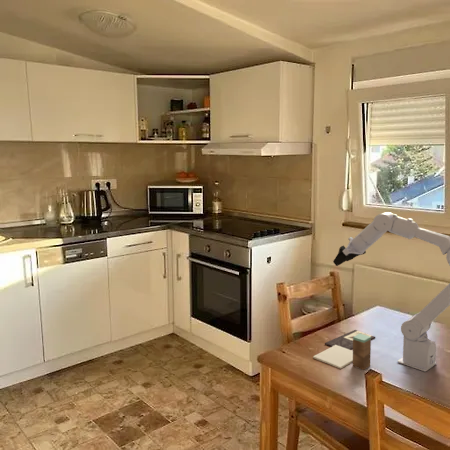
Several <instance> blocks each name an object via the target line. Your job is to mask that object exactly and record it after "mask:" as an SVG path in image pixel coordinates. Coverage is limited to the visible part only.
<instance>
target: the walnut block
mask: <svg viewBox="0 0 450 450" xmlns="http://www.w3.org/2000/svg"><path fill="white" fill-rule="evenodd" d="M371 341H372V340H371V337H370V336H366V335H363V334H358V335H356V336H354V337H353V349H352V351H353V362H352V367H355V368H357V369H360V370H362V371H364V370H366V369H368V368H369V367H371V352H372V351H371V350H372V349H371V348H372V347H371V346H372V342H371Z"/></svg>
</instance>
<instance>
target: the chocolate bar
mask: <svg viewBox="0 0 450 450" xmlns="http://www.w3.org/2000/svg"><path fill="white" fill-rule="evenodd" d="M358 334H363V335H366V336H370V337H371V341H372V340H374V339H376V336H375V335H371V334H368V333H366V332H363V331H360V330H357V329H354V330H352V331H349V332H347V333H344V334H342V335H340V336H337V337H336V338H333V339H330V340H329V341H327V342H324V345H325V346H328V347H329V348H330V347H332V346H334V345H338V346H341V347H343V348H346V349H349V350H352V351H353V337H354V336H356V335H358Z"/></svg>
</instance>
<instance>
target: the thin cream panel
mask: <svg viewBox="0 0 450 450" xmlns="http://www.w3.org/2000/svg"><path fill="white" fill-rule="evenodd" d="M312 358H313V359H314V360H317V361H319V362H322V363H325V364H328V365H329V366H333V367H335V368H336V369H337V368H338V369H340V370H341V369H343V368H344V367H345V368H346V366H348V365H350V364H351V363H352V364H353V349H352V350H349V349H346V348H343V347H341V346H338V345H334V346H332V347H330V346H329V348H327V349H325V350H323V351H321V352H319V353H317V354H314V355H313V357H312Z"/></svg>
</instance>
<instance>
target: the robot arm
mask: <svg viewBox="0 0 450 450" xmlns="http://www.w3.org/2000/svg"><path fill="white" fill-rule="evenodd" d="M387 232H389V233H391V234H393V235H397V236H400V237H402V238H405V239H408V240H412V239H414V238H416V239H419V240H422V241H424V242H426V243H429V244H432V245H433V246H437V247H439V249H440V251H441V254H442V255H443V256H445V255H446V257H445V258H446V262H447V263H448V265H449V266H450V235H447V234H444V233H440V232H437V231H434V230H430V229H427V228H426V229H425V228H423V227H420V226H419V225H418V223H417V222H416V221H414V219H413V218H410V217H408V218H404V217H401V216H398V214H396V213H392V212H389V211H386V212H382V213H379V214H377V215H376V216H375V217H374V218H373V221H372V222H371V223H369V224H367V226H366V227H365V228H363V229H362V230H361V231H360V232H359V233H358V234H357V235H356V236H355V237H352V236H350V237H348V241H349V242H348V244H347V246H346V247H345V245H341V246H340V247H339V249H338V253H337V254H336V256H335V258H334V259H333V260H332V262H333V264H334V265H335V267H338V266H340V265H341V264H343V263H345V262H350V261H352V260H354V259H355V258H357V257H358V256H361V255H365V254H366V253H367V250H368V249H369V248H370V247H371V246H373V245H374V244H375V243H376V242H377V241H378V240H380V239H381V238H382V237H383V236H384V235H385V234H386V233H387ZM449 307H450V282H449V283H448V284H447V285H446V286H445V287H443V289H442V290H441V291H440V292H439V293H438V294H437V295H436V296H434V298H433V299H432V300H431V301H430V302H428V303H427V305H426V306H424V307H423V308H422V309H421V310H420V311H419V312H418V313H416V314H413V315H412V316H411V317H410V318H409V319H407V320H406V321H404V322H402V324H401V326H400V332H401V335H402V336H403V343H402V344H403V346H402V357H401V358H399V359H398V360H397V363H399V364H402V365H404V366H406V367H410V368H413V369H415V370H416V369H417V370H420V371H422V372H427V371H429V370H430V369H432V368H433V367H434V366H435V365H437V362H436V359H437V358H436V356H437V352H436V351H437V344H436V343H435V342H434V341H433V340H430V339H429V338H428V333H427V332H428V330H430V328H431V326H432V323H433V322H434V321H435V320H436V319H437V318H438V317H439V316H440V315H441V314H442V313H443V312H444V311H446V310H447V308H449Z"/></svg>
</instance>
